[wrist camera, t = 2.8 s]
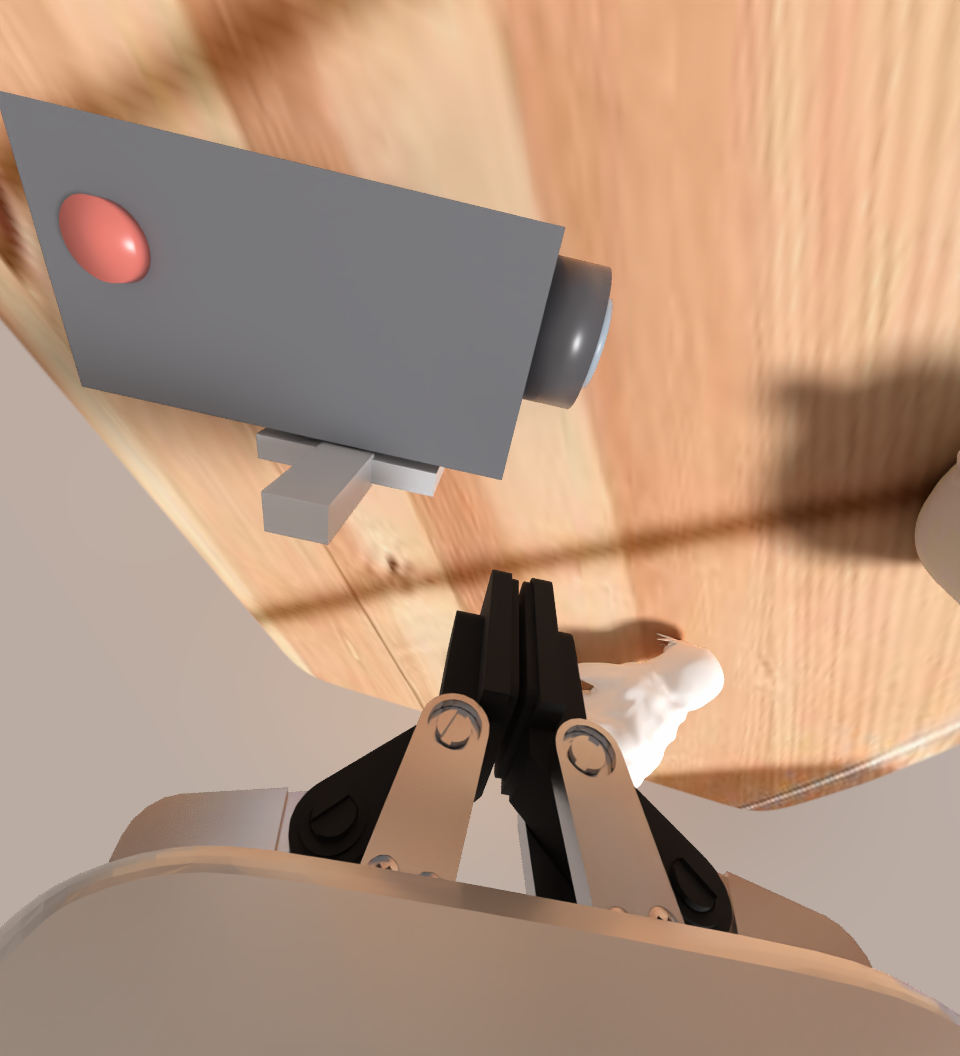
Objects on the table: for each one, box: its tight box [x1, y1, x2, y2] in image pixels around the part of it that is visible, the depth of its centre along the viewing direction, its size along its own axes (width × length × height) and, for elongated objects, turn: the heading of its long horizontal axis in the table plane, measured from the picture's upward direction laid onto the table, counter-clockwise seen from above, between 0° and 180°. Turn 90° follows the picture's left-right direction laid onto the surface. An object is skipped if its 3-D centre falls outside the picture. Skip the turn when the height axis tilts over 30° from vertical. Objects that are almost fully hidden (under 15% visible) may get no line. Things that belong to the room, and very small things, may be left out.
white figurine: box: [578, 633, 724, 788], centre depth 27 cm, size 6×8×12 cm
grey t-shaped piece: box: [256, 428, 445, 545], centre depth 17 cm, size 7×1×11 cm, turn 79°
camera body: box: [0, 91, 612, 480], centre depth 16 cm, size 18×8×8 cm, turn 79°
